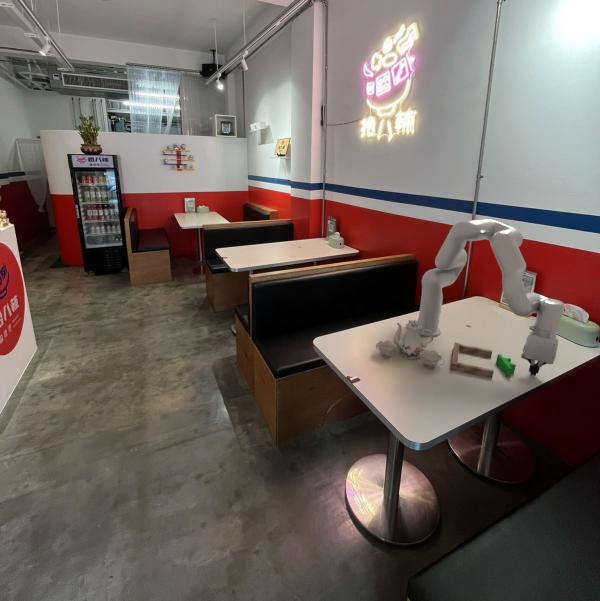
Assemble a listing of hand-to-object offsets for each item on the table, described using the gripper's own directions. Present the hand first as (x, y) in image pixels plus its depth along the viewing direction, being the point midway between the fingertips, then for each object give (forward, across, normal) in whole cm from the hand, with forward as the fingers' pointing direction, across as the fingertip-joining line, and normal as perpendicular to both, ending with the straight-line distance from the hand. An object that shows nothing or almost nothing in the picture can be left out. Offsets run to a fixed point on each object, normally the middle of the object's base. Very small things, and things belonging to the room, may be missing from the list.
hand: (532, 373), depth 144 cm
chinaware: (+1, -46, -7) cm, 47 cm away
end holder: (+1, -22, 0) cm, 23 cm away
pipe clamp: (+1, -9, -1) cm, 10 cm away
